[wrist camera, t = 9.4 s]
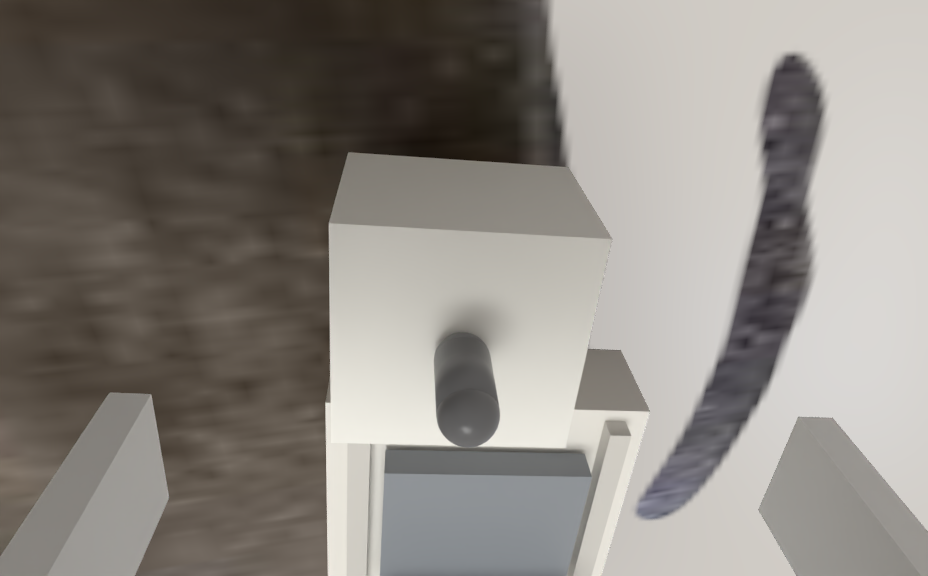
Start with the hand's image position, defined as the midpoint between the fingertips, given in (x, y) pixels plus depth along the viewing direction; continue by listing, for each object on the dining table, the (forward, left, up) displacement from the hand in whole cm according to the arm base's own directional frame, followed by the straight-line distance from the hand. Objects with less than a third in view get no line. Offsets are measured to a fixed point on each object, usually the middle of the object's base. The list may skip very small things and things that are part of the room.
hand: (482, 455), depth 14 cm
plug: (0, 0, -13) cm, 13 cm away
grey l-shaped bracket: (+11, +2, -8) cm, 14 cm away
